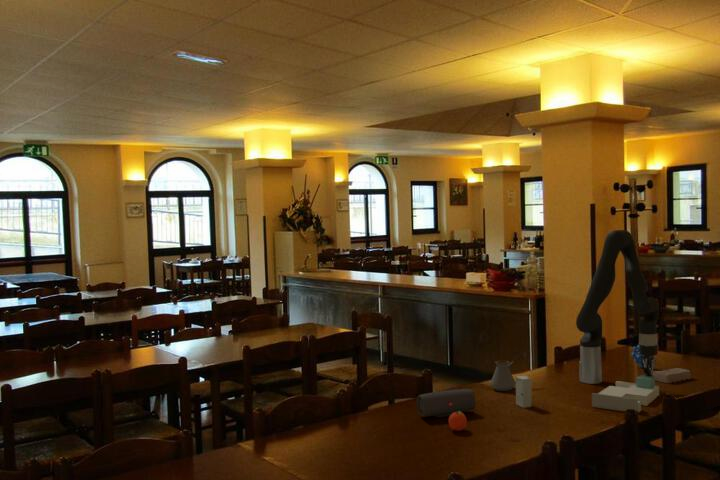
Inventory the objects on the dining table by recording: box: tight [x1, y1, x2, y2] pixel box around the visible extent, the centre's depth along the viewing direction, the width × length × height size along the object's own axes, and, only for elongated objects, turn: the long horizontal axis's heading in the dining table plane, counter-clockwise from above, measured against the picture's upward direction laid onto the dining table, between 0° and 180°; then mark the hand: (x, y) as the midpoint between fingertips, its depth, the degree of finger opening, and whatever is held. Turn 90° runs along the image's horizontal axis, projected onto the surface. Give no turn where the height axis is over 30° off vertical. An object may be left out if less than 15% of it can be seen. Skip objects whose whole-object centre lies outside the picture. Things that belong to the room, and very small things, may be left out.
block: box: [635, 374, 656, 389], centre depth 284 cm, size 6×6×4 cm
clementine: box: [448, 411, 468, 432], centre depth 249 cm, size 8×7×7 cm
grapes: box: [631, 344, 644, 369], centre depth 333 cm, size 12×7×12 cm, turn 36°
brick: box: [652, 367, 692, 384], centre depth 309 cm, size 17×8×5 cm, turn 116°
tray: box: [591, 380, 660, 414], centre depth 277 cm, size 18×31×6 cm, turn 141°
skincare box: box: [515, 375, 532, 409], centre depth 277 cm, size 6×4×12 cm
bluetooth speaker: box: [416, 388, 477, 418], centre depth 268 cm, size 23×9×10 cm, turn 105°
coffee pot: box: [490, 351, 527, 392], centre depth 307 cm, size 21×12×15 cm, turn 125°
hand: (649, 382), depth 288 cm, fingers closed
